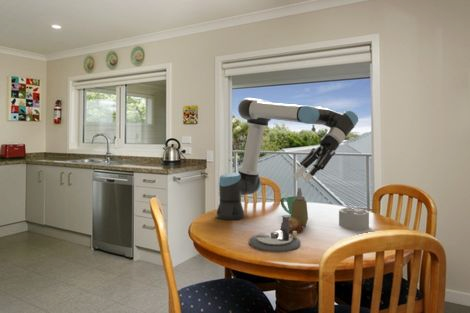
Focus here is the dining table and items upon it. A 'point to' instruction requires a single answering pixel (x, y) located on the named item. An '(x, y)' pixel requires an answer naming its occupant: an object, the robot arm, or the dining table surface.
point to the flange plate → (272, 240)
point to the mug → (288, 203)
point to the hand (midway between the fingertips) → (300, 179)
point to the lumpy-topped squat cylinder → (354, 218)
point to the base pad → (281, 248)
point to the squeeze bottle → (300, 208)
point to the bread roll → (293, 225)
